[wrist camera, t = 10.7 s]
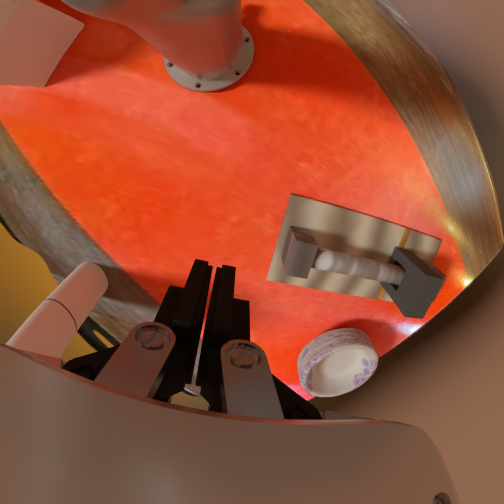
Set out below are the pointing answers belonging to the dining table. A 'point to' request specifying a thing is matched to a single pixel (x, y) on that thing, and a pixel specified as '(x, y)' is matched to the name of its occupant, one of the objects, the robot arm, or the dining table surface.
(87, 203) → the dining table surface
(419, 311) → the collar
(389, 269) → the pipe rig
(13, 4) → the gable box
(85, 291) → the cylindrical container
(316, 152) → the dining table surface
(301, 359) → the paper bowls
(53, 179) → the dining table surface
